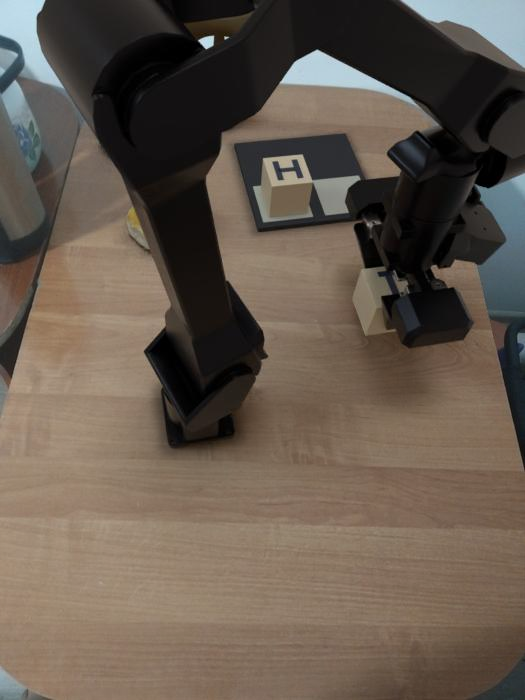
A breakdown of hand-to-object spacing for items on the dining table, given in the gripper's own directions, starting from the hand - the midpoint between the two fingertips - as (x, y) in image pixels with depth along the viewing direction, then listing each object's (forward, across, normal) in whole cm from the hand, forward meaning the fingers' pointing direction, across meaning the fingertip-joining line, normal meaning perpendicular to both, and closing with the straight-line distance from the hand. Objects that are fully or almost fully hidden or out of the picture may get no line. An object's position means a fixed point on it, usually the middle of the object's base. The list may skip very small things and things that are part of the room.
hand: (382, 308), depth 60 cm
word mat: (+3, +24, +2) cm, 24 cm away
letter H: (+3, +20, +6) cm, 21 cm away
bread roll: (+2, +18, +21) cm, 28 cm away
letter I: (+1, 0, 0) cm, 1 cm away
